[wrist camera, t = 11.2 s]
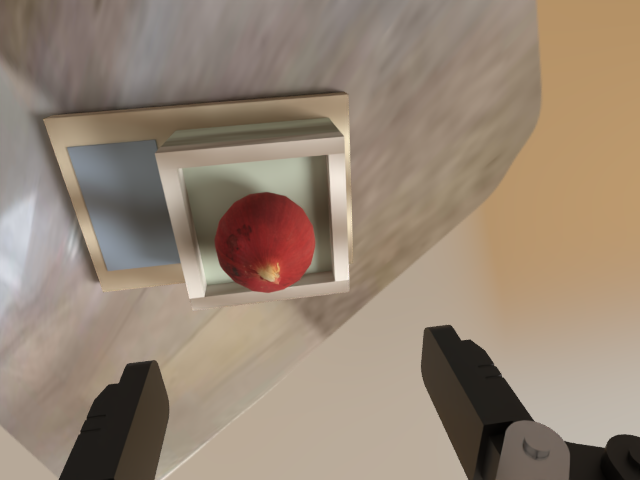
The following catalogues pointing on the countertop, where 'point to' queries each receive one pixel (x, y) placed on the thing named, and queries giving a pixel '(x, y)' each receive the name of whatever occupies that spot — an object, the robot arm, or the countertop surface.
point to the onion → (265, 242)
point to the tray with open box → (206, 188)
